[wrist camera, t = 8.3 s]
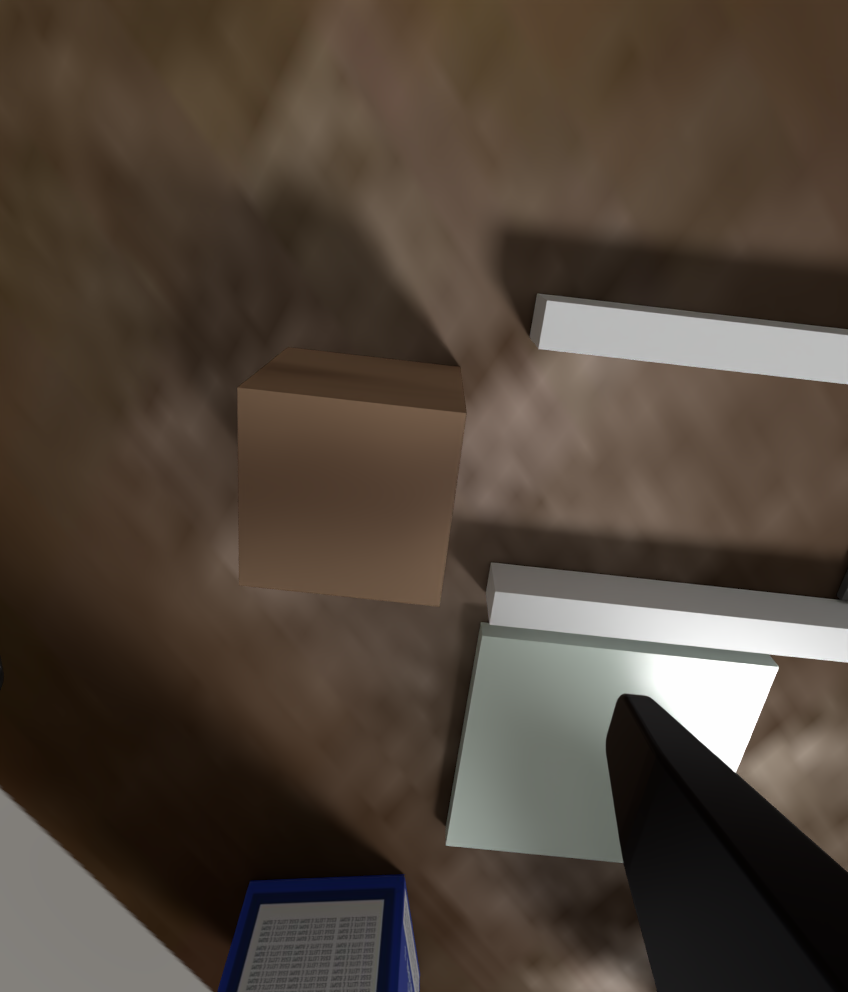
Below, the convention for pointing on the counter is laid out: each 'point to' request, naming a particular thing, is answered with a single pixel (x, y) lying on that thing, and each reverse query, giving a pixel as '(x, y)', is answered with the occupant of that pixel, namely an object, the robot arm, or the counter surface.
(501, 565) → the channel
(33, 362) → the counter surface
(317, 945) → the milk carton
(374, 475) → the block
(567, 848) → the pad
